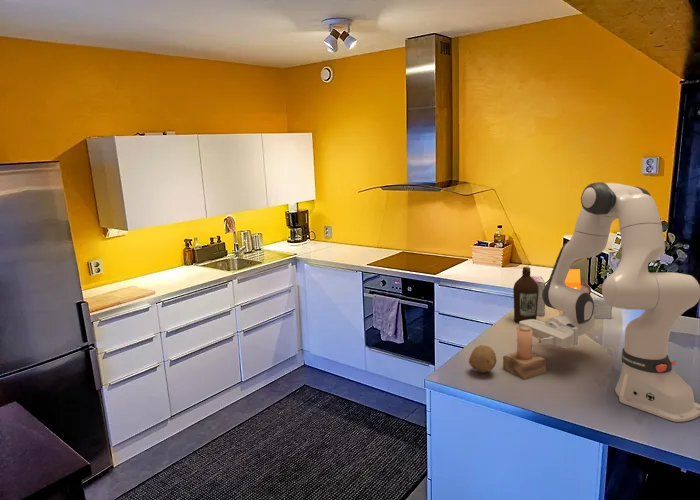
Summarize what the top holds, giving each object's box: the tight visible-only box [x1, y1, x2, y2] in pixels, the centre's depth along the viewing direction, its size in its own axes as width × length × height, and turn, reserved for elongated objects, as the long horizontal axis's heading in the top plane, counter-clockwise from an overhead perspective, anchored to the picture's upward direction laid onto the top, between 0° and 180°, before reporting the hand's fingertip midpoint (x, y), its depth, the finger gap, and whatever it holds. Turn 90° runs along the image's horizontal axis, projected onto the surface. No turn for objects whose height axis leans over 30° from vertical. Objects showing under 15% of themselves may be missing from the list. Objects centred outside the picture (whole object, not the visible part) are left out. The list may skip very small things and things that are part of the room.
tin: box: [580, 281, 592, 295], centre depth 243 cm, size 15×3×8 cm, turn 58°
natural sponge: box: [468, 344, 497, 374], centre depth 165 cm, size 9×9×10 cm
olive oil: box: [512, 266, 539, 325], centre depth 210 cm, size 11×11×25 cm
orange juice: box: [558, 268, 581, 313], centre depth 224 cm, size 8×9×20 cm
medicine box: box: [592, 297, 613, 320], centre depth 213 cm, size 8×4×9 cm, turn 74°
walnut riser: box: [502, 351, 547, 380], centre depth 166 cm, size 10×10×5 cm
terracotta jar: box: [516, 326, 533, 360], centre depth 164 cm, size 5×5×11 cm
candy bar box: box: [530, 275, 546, 317], centre depth 223 cm, size 11×5×16 cm, turn 168°
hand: (529, 337), depth 165 cm, fingers open, 8 cm apart
